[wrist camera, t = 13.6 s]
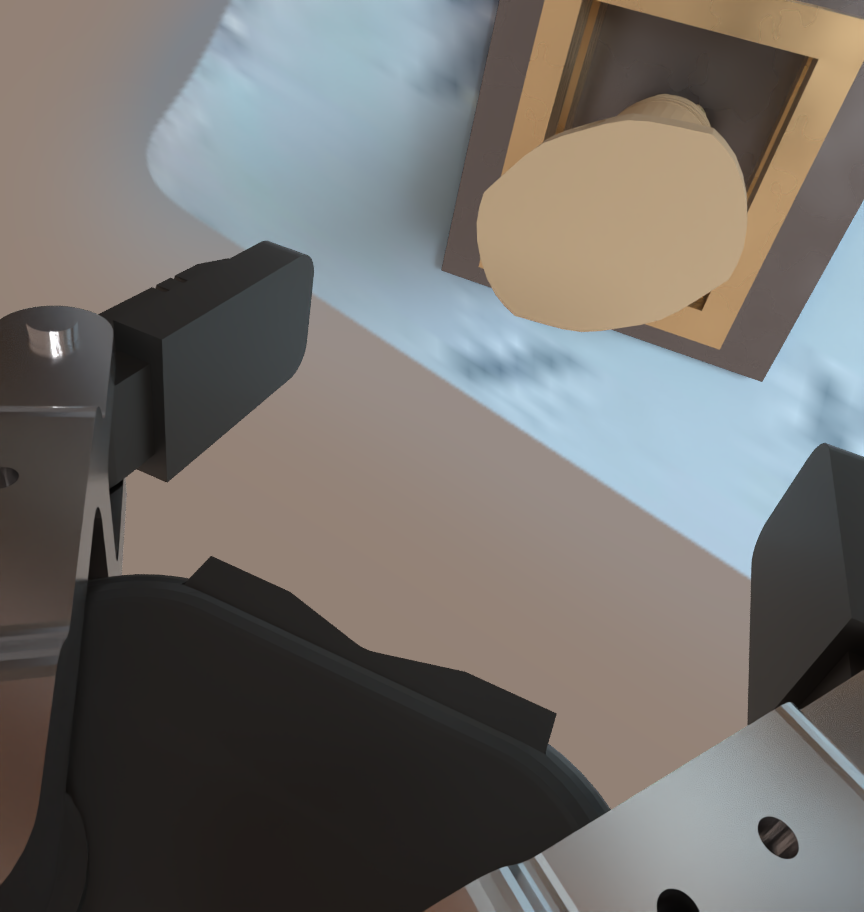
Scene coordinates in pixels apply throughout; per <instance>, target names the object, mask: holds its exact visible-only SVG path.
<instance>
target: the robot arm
mask: <svg viewBox="0 0 864 912" xmlns="http://www.w3.org/2000/svg"><path fill="white" fill-rule="evenodd" d="M313 276H314V266H313V262H312V259H311V258H310V257H309V256H308V255H305V254H302V253H300V252H297V251H294V250H291V249H289V248H286V247H283V246H280V245H277V244H275V243H272V242H269V241H263V242H260V243H258V244H257V245H255V246H253V247H251V248H249V249H247V250H245V251H243V252H241V253H239V254H238V255H236V256H234V257H232V258H230V259H222V260H217V261H212V262H207V263H201V264H197V265H195V266H193V267H191V268H189V269H187V270H185V271H183V272H181V273H179V274H177V275H176V276H175V278H174V279H172V278H169V279H167V280H165V281H163V282H162V283H159V284H157V286H156V288H152V287H151V288H150V289H148V290H146V291H144V292H142V293H140V294H138V295H136V296H134V297H132V298H130V299H128V300H126V301H124V302H122V303H120V304H118V305H116V306H114V307H112V308H110V309H108V310H106V311H104V312H102V313H100V314H96V313H93V312H91V311H88V310H84V309H80V308H75V307H68V306H39V307H33V308H27V309H23V310H19V311H16V312H13V313H10V314H8V315H6V316H4V317H3V318H1V319H0V912H864V457H863V456H860V455H857V454H854V453H852V452H849V451H846V450H843V449H840V448H838V447H835V446H832V445H829V444H827V443H823V444H820V445H819V446H818V447H817V448H816V449H815V450H814V451H813V452H812V453H811V455H810V456H809V458H808V459H807V461H806V462H805V464H804V465H803V467H802V468H801V470H800V471H799V473H798V474H797V476H796V477H795V479H794V480H793V482H792V484H791V485H790V487H789V488H788V490H787V491H786V493H785V494H784V496H783V497H782V499H781V500H780V502H779V503H778V505H777V506H776V508H775V509H774V511H773V512H772V514H771V516H770V517H769V519H768V520H767V522H766V523H765V525H764V527H763V529H762V531H761V533H760V535H759V537H758V540H757V543H756V545H755V549H754V552H753V557H752V567H751V608H750V609H751V610H750V648H749V650H750V651H749V688H748V726H747V727H745V728H743V729H742V730H740V731H738V732H737V733H735V734H734V735H732V736H730V737H729V738H727V739H725V740H724V741H722V742H721V743H719V744H717V745H716V746H714V747H712V748H711V749H709V750H708V751H706V752H705V753H703V754H701V755H699V756H698V757H696V758H695V759H693V760H691V761H690V762H688V763H687V764H685V765H683V766H682V767H680V768H679V769H677V770H675V771H673V772H672V773H670V774H669V775H667V776H665V777H664V778H662V779H660V780H659V781H657V782H656V783H654V784H652V785H651V786H649V787H648V788H646V789H644V790H643V791H641V792H639V793H638V794H636V795H634V796H633V797H631V798H630V799H628V800H626V801H625V802H623V803H621V804H620V805H618V806H617V807H615V808H614V809H612V810H611V809H610V808H609V806H608V805H607V803H606V802H605V801H604V799H603V798H602V796H601V795H600V794H599V792H598V791H597V790H596V789H595V788H594V787H593V785H592V784H591V783H590V782H589V781H588V780H587V778H586V777H585V776H584V775H583V774H582V773H581V772H580V771H579V770H578V769H577V768H576V767H575V766H574V765H573V764H572V763H571V762H570V761H569V760H567V759H566V758H565V757H564V756H563V755H562V754H561V753H560V752H558V751H557V750H556V749H554V748H553V747H552V746H551V745H549V744H548V742H549V738H550V735H551V731H552V728H553V724H554V721H555V717H556V713H554V712H552V711H550V710H548V709H545V708H543V707H541V706H539V705H536V704H535V703H532V702H530V701H528V700H526V699H524V698H521V697H519V696H517V695H515V694H513V693H510V692H508V691H506V690H504V689H502V688H499V687H497V686H495V685H493V684H491V683H489V682H486V681H484V680H482V679H480V678H478V677H475V676H473V675H471V674H469V673H467V672H463V671H459V670H454V669H449V668H445V667H440V666H436V665H431V664H427V663H422V662H417V661H413V660H408V659H404V658H399V657H394V656H390V655H385V654H381V653H376V652H372V651H369V650H367V649H364V648H362V647H360V646H359V645H358V644H356V643H355V642H354V641H352V640H351V639H350V638H348V637H347V636H346V635H345V634H343V633H342V632H341V631H340V630H338V629H337V628H336V627H334V626H333V625H332V624H330V623H329V622H328V621H327V620H325V619H324V618H323V617H321V616H320V615H319V614H318V613H316V612H315V611H313V609H311V608H310V607H309V606H307V605H306V604H305V603H304V602H302V601H301V600H300V599H298V598H297V597H296V596H295V595H293V594H292V593H291V592H289V591H287V590H285V589H283V588H280V587H278V586H276V585H274V584H271V583H269V582H267V581H265V580H263V579H261V578H258V577H256V576H254V575H252V574H250V573H248V572H245V571H243V570H241V569H239V568H237V567H234V566H232V565H230V564H228V563H225V562H223V561H221V560H219V559H217V558H215V557H212V556H211V557H210V558H209V559H208V560H207V561H206V562H205V563H204V564H203V565H202V566H201V567H200V568H199V569H198V570H197V571H196V572H195V573H194V574H193V575H192V576H191V577H190V578H189V579H188V578H183V577H175V576H165V575H148V574H146V575H145V574H135V575H122V560H123V544H124V528H125V527H124V526H125V511H126V495H127V493H126V482H125V477H127V476H128V475H129V474H130V473H132V472H133V471H134V470H136V469H137V470H140V471H142V472H144V473H147V474H149V475H151V476H154V477H156V478H158V479H160V480H162V481H165V482H168V481H169V480H171V479H172V478H173V477H174V476H175V475H177V474H178V473H179V472H180V471H181V470H183V469H184V468H185V467H186V466H187V465H189V464H190V463H191V462H192V461H193V460H194V459H196V458H197V457H198V456H199V455H200V454H202V453H203V452H204V451H205V450H206V449H207V448H209V447H210V446H211V445H212V444H213V443H215V442H216V441H217V440H218V439H219V438H221V437H222V435H224V434H225V433H226V432H228V431H229V430H230V429H231V428H232V427H234V426H235V425H236V424H237V423H238V422H239V421H241V420H242V419H243V418H244V417H245V416H246V415H248V414H249V413H250V412H251V411H252V410H254V409H255V408H256V407H257V406H258V405H260V404H261V403H262V402H263V401H264V400H265V399H266V398H268V397H269V396H270V395H271V394H273V393H274V392H275V391H276V390H277V389H278V388H280V387H281V386H282V385H283V384H284V383H286V382H287V381H288V380H289V379H290V378H291V377H292V376H293V375H294V374H295V372H296V370H297V369H298V367H299V365H300V363H301V361H302V359H303V356H304V353H305V349H306V343H307V335H308V325H309V315H310V306H311V296H312V286H313Z"/></svg>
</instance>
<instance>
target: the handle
mask: <svg viewBox="0 0 864 912" xmlns="http://www.w3.org/2000/svg"><path fill="white" fill-rule="evenodd" d="M746 230H747V194H746V188H745V183H744V177H743V173H742V171H741V168H740V165H739V163H738V160H737V157H736V155H735V153H734V152H733V150H732V149H731V148H730V146H729V145H728V143H727V142H726V140H725V139H724V138H723V137H722V136H721V135H720V134H719V133H718V132H717V131H716V130H715V129H714V128H711V126H710V123H709V120H708V119H707V117H706V113H705V111H704V109H703V108H702V107H701V106H700V105H699V104H694V103H693V102H692V101H690V100H688V99H686V98H683V97H680V96H676V95H669V94H660V95H656V96H653V97H649V98H647V99H644V100H641V101H639V102H637V103H635V104H633V105H631V106H629V107H628V108H626V109H625V110H624V111H622V112H621V113H620V114H618V115H617V116H616V117H611V118H608V119H604V120H600V121H596V122H592V123H589V124H586V125H582V126H579V127H576V128H572V129H569V130H566V131H564V132H561V133H559V134H556V135H554V136H552V137H550V138H549V139H547V140H545V141H544V142H543V143H541V144H540V145H539V146H537V147H536V148H535V149H533V150H532V151H531V152H529V153H528V154H526V155H525V156H524V157H523V158H522V159H520V160H519V161H518V162H517V163H516V164H515V165H513V166H512V167H511V168H510V169H509V170H508V171H507V172H506V173H504V174H503V175H502V176H501V177H500V178H499V179H498V180H497V181H496V182H495V183H494V184H493V185H491V186H490V187H489V188H488V189H487V190H486V191H485V192H484V194H483V197H482V200H481V204H480V207H479V212H478V218H477V242H478V248H479V253H480V259H481V262H482V265H483V268H484V271H485V274H486V277H487V279H488V281H489V283H490V285H491V287H492V289H493V291H494V293H495V295H496V296H497V297H498V298H499V300H500V301H501V302H502V303H503V305H504V306H505V307H506V308H507V309H508V310H509V311H510V312H511V313H512V314H514V315H515V316H518V317H521V318H525V319H528V320H532V321H535V322H538V323H542V324H546V325H549V326H553V327H557V328H561V329H566V330H572V331H579V332H589V331H603V330H610V329H617V328H623V327H630V326H637V325H642V324H646V323H650V322H654V321H658V320H661V319H663V318H665V317H667V316H670V315H672V314H674V313H676V312H678V311H680V310H681V309H683V308H685V307H686V306H688V305H690V304H691V303H693V302H695V301H696V300H698V299H699V298H701V297H703V296H704V295H706V294H707V293H709V292H710V291H712V290H713V289H715V288H717V287H718V286H720V285H721V284H723V283H724V282H726V281H727V280H729V278H730V276H731V275H732V273H733V271H734V269H735V268H736V266H737V263H738V261H739V258H740V256H741V253H742V251H743V248H744V242H745V236H746Z"/></svg>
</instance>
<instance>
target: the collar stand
mask: <svg viewBox="0 0 864 912" xmlns="http://www.w3.org/2000/svg"><path fill="white" fill-rule="evenodd" d="M660 94H669V95H676V96H680V97H683V98H686V99H688V100H690V101H692V102H693V103H694V104H699V105H700V106H701V107H702V108H703V109H704V111H705V113H706V117H707V119H708V120H709V123H710V126H711V128H714V129H715V130H716V131H717V132H718V133H719V134H720V135H721V136H722V137H723V138H724V139H725V140H726V142H727V143H728V145H729V146H730V148H731V149H732V150H733V152H734V153H735V155H736V157H737V160H738V163H739V165H740V168H741V171H742V173H743V177H744V183H745V188H746V194H747V230H746V236H745V242H744V248H743V251H742V253H741V256H740V258H739V261H738V263H737V266H736V268H735V269H734V271H733V273H732V275H731V276H730V278H729V280H727V281H726V282H724V283H723V284H721V285H720V286H718V287H717V288H715V289H713V290H712V291H710V292H709V293H707V294H706V295H704V296H703V297H701V298H699V299H698V300H696V301H695V302H693V303H691V304H690V305H688V306H686V307H685V308H683V309H681V310H680V311H678V312H676V313H674V314H672V315H670V316H667V317H665V318H663V319H661V320H658V321H654V322H650V323H646V324H642V325H637V326H630V327H623V328H617V329H611V330H614V331H617V332H620V333H623V334H626V335H629V336H632V337H635V338H637V339H640V340H643V341H646V342H649V343H652V344H655V345H658V346H660V347H663V348H666V349H669V350H672V351H675V352H678V353H681V354H683V355H686V356H689V357H692V358H695V359H698V360H701V361H704V362H706V363H709V364H712V365H715V366H718V367H721V368H724V369H727V370H729V371H732V372H735V373H738V374H741V375H744V376H747V377H750V378H752V379H755V380H758V381H761V382H762V381H763V380H764V378H765V376H766V374H767V372H768V371H769V369H770V367H771V365H772V363H773V362H774V360H775V358H776V356H777V354H778V353H779V351H780V349H781V347H782V345H783V344H784V342H785V340H786V338H787V336H788V335H789V333H790V331H791V329H792V327H793V326H794V324H795V322H796V320H797V319H798V317H799V315H800V313H801V311H802V310H803V308H804V306H805V304H806V302H807V301H808V299H809V297H810V295H811V293H812V292H813V290H814V288H815V286H816V284H817V283H818V281H819V279H820V277H821V275H822V274H823V272H824V270H825V268H826V266H827V265H828V263H829V261H830V259H831V257H832V256H833V254H834V252H835V250H836V248H837V247H838V245H839V243H840V241H841V239H842V238H843V236H844V234H845V232H846V230H847V229H848V227H849V225H850V223H851V222H852V220H853V218H854V216H855V214H856V213H857V211H858V209H859V207H860V205H861V204H862V202H863V200H864V0H500V1H499V5H498V10H497V15H496V19H495V24H494V29H493V33H492V38H491V42H490V47H489V52H488V56H487V61H486V66H485V70H484V75H483V80H482V84H481V89H480V94H479V98H478V103H477V107H476V112H475V117H474V121H473V126H472V131H471V135H470V140H469V145H468V149H467V154H466V158H465V163H464V168H463V172H462V177H461V182H460V186H459V191H458V196H457V200H456V205H455V210H454V214H453V219H452V223H451V228H450V233H449V237H448V242H447V247H446V251H445V256H444V261H443V265H442V271H445V272H448V273H450V274H453V275H456V276H459V277H462V278H465V279H468V280H471V281H473V282H476V283H479V284H482V285H485V286H488V287H491V285H490V283H489V281H488V279H487V277H486V274H485V271H484V268H483V265H482V262H481V259H480V253H479V248H478V242H477V218H478V212H479V207H480V204H481V200H482V197H483V194H484V192H485V191H486V190H487V189H488V188H489V187H490V186H491V185H493V184H494V183H495V182H496V181H497V180H498V179H499V178H500V177H501V176H502V175H503V174H504V173H506V172H507V171H508V170H509V169H510V168H511V167H512V166H513V165H515V164H516V163H517V162H518V161H519V160H520V159H522V158H523V157H524V156H525V155H526V154H528V153H529V152H531V151H532V150H533V149H535V148H536V147H537V146H539V145H540V144H541V143H543V142H544V141H545V140H547V139H549V138H550V137H552V136H554V135H556V134H559V133H561V132H564V131H566V130H569V129H572V128H576V127H579V126H582V125H586V124H589V123H592V122H596V121H600V120H604V119H608V118H611V117H616V116H617V115H618V114H620V113H621V112H622V111H624V110H625V109H626V108H628V107H629V106H631V105H633V104H635V103H637V102H639V101H641V100H644V99H647V98H649V97H653V96H656V95H660ZM491 288H492V287H491Z"/></svg>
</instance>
